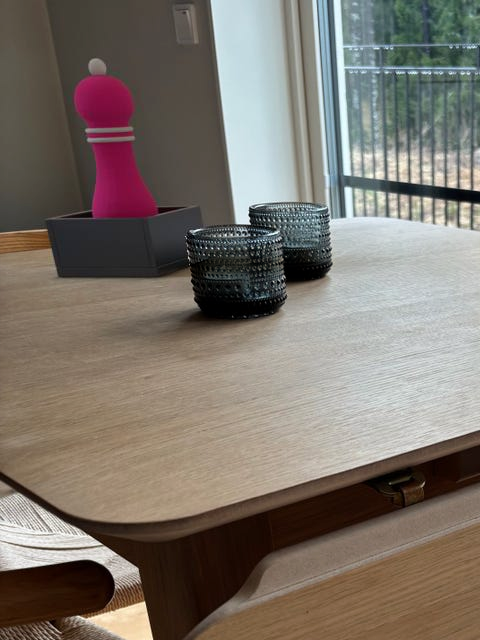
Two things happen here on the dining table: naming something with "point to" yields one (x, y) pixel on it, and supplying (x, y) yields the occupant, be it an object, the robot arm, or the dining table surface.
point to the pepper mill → (112, 146)
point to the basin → (122, 243)
